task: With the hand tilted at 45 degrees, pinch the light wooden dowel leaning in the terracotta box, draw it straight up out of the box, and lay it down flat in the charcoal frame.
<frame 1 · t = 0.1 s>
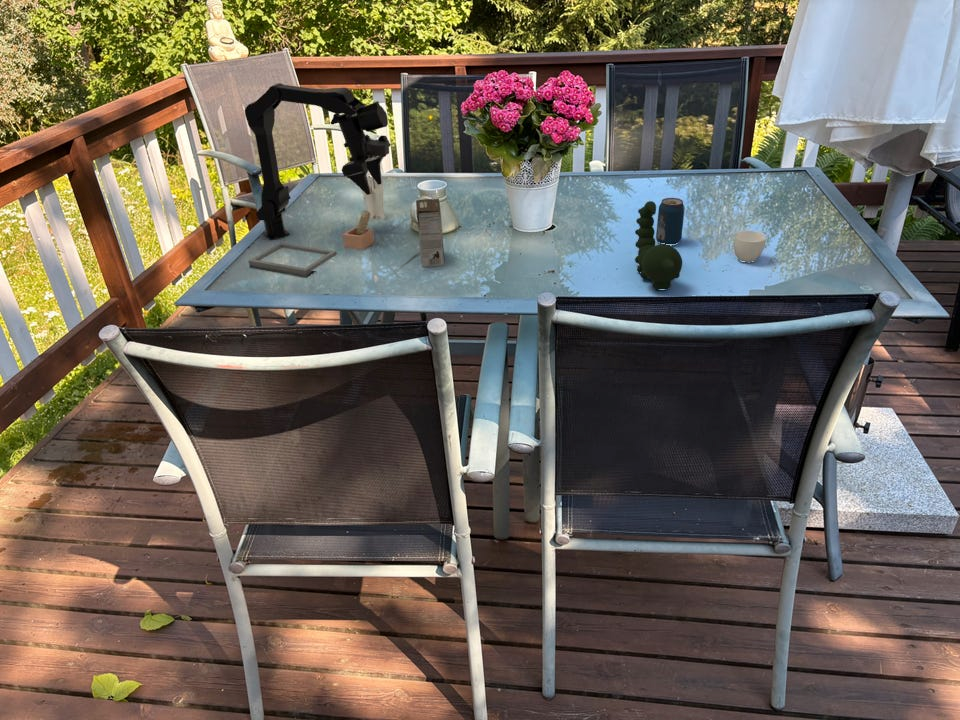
hand: (374, 189, 202), 15 cm above the table, tool pointing down, fingers open, 9 cm apart
soda can: (668, 242, 198), on the table
terracotta box: (360, 247, 205), on the table
toy figurine: (653, 279, 179), on the table
cup: (745, 258, 187), on the table
coffee box: (433, 260, 196), on the table
wooden dowel: (357, 243, 205), point 1 cm above the table, touching terracotta box
beer glass: (376, 219, 226), on the table
charcoal frame: (293, 262, 199), on the table
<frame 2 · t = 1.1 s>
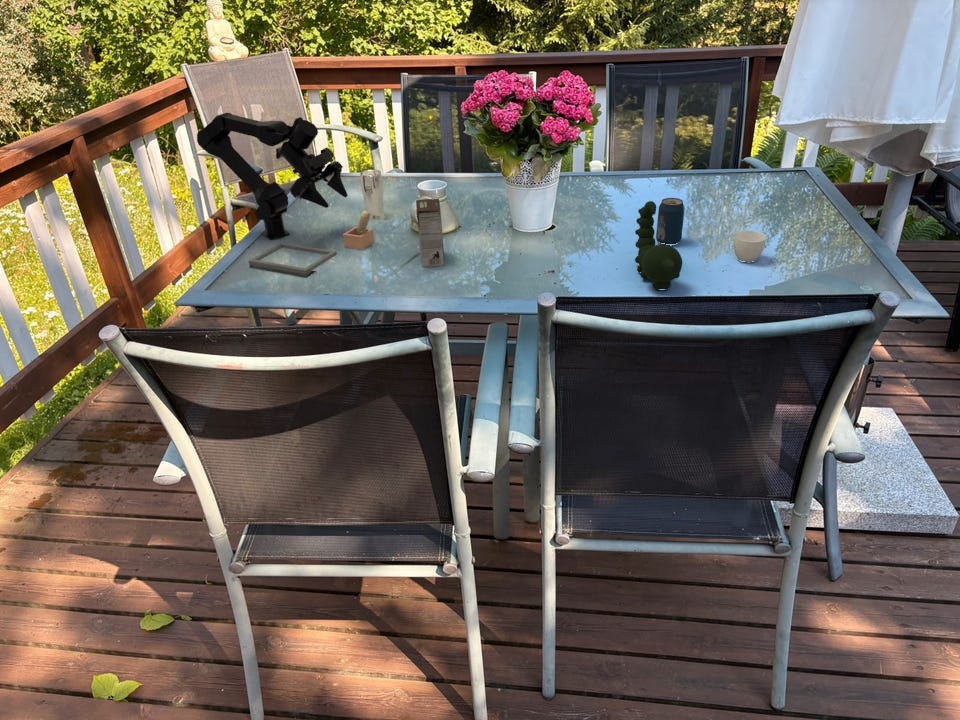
hand: (337, 201, 201), 13 cm above the table, tool tilted 45°, fingers open, 9 cm apart
nothing on the table moved.
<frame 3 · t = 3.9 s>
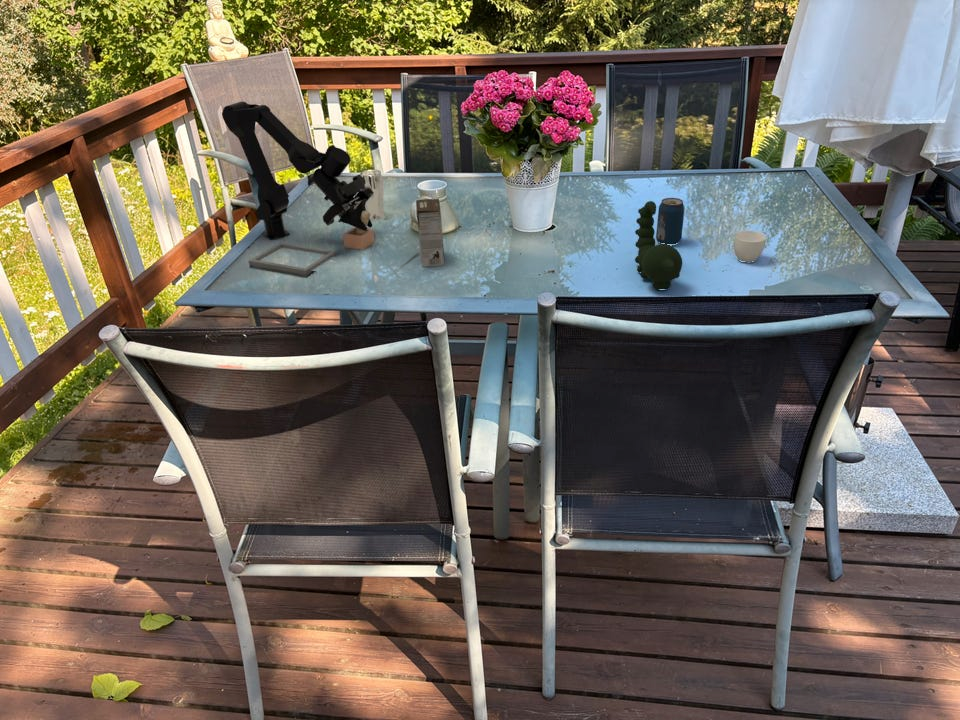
hand: (368, 228, 200), 7 cm above the table, tool tilted 45°, fingers closed on wooden dowel, 2 cm apart
wooden dowel: (357, 243, 205), point 1 cm above the table, touching gripper, terracotta box
everything else where it was.
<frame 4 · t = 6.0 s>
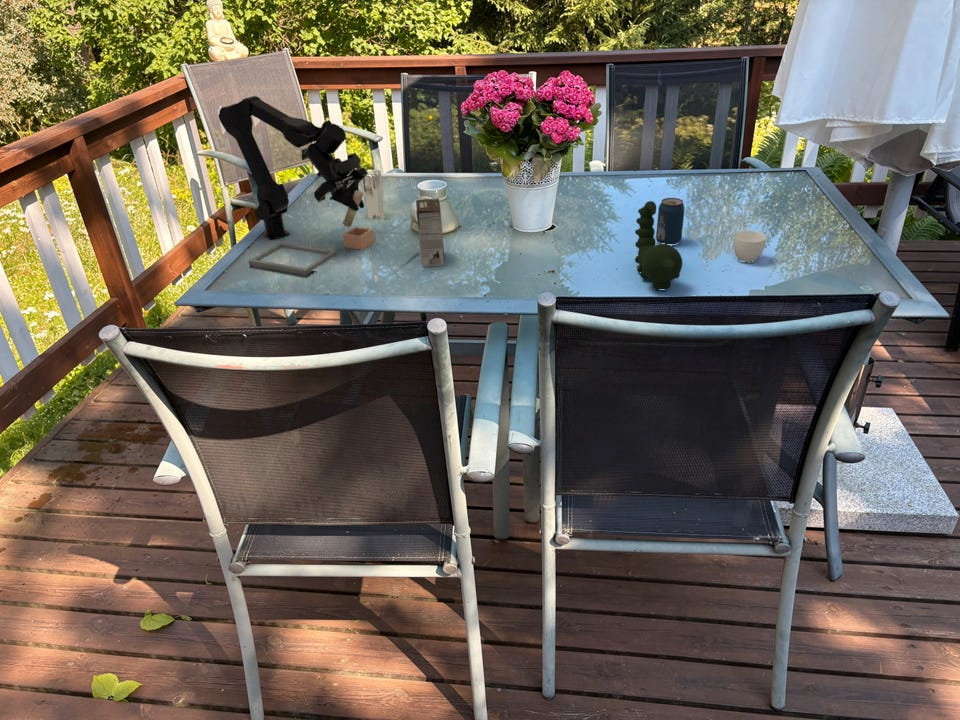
hand: (360, 208, 196), 13 cm above the table, tool tilted 40°, fingers closed on wooden dowel, 2 cm apart
wooden dowel: (347, 224, 200), point 8 cm above the table, tilted 8°, touching gripper
everything else where it was.
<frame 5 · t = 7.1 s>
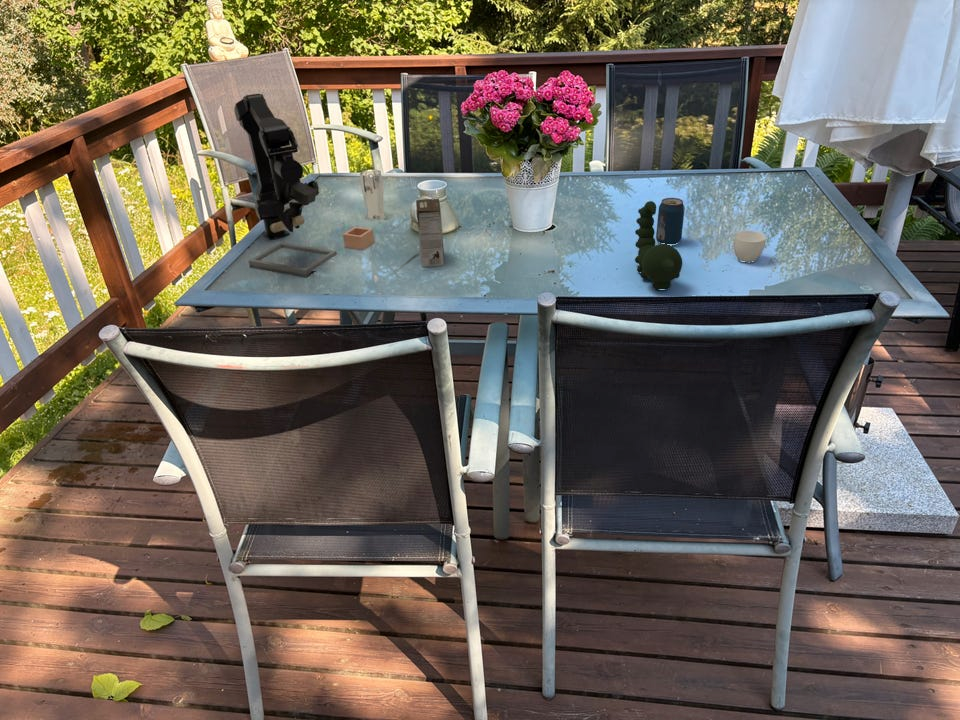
hand: (294, 229, 192), 10 cm above the table, tool pointing down, fingers closed on wooden dowel, 2 cm apart
wooden dowel: (273, 228, 196), point 10 cm above the table, tilted 48°, touching gripper
everything else where it was.
when the fingers open (5 cm above the table, at t = 8.2 s): wooden dowel drops 3 cm and tips over, resting on charcoal frame.
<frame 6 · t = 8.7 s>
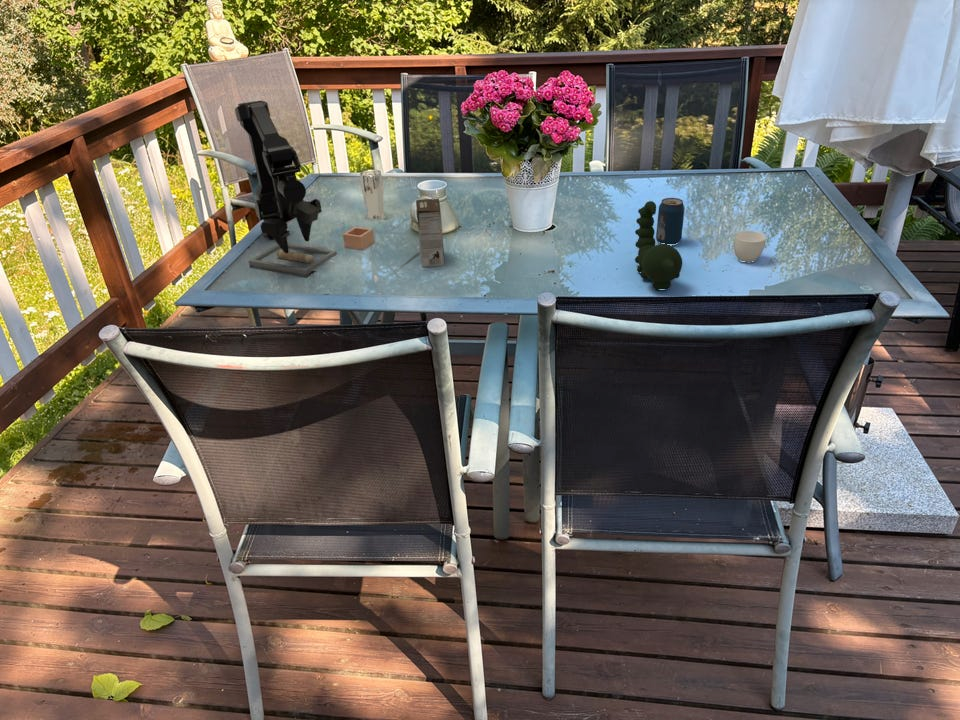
hand: (297, 247, 195), 5 cm above the table, tool pointing down, fingers open, 9 cm apart
wooden dowel: (279, 254, 199), point 2 cm above the table, tilted 68°, touching charcoal frame
everything else where it was.
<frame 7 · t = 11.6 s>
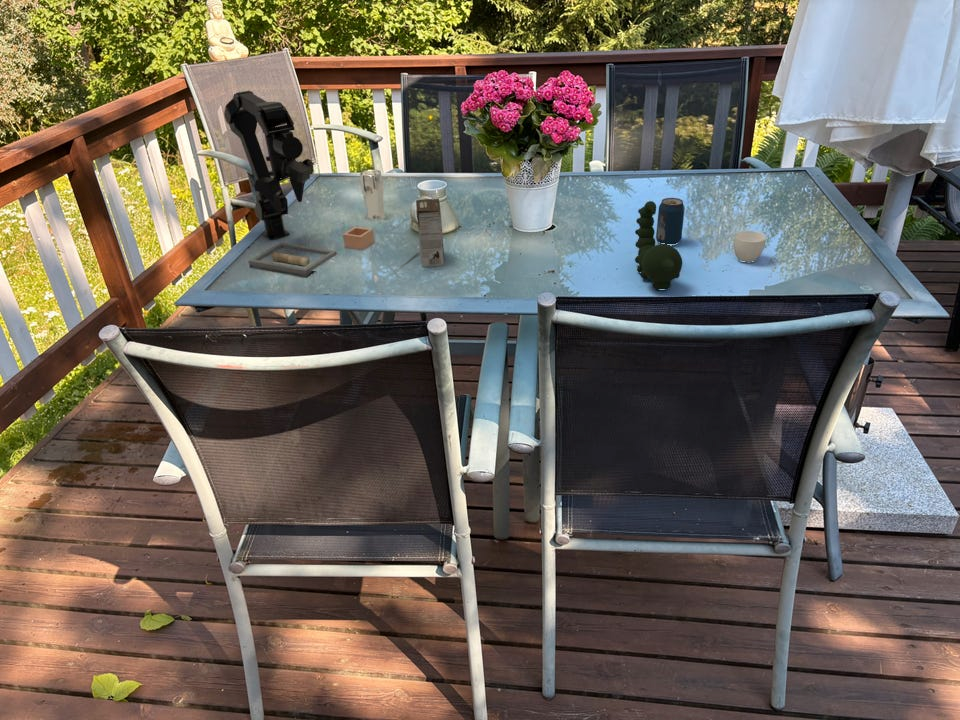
hand: (289, 207, 200), 13 cm above the table, tool pointing down, fingers open, 9 cm apart
wooden dowel: (275, 256, 198), point 2 cm above the table, tilted 93°, touching charcoal frame
everything else where it was.
at the end: wooden dowel 5.0 cm from the charcoal frame (horizontally); wooden dowel tilted 94°; the gripper is holding nothing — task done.
